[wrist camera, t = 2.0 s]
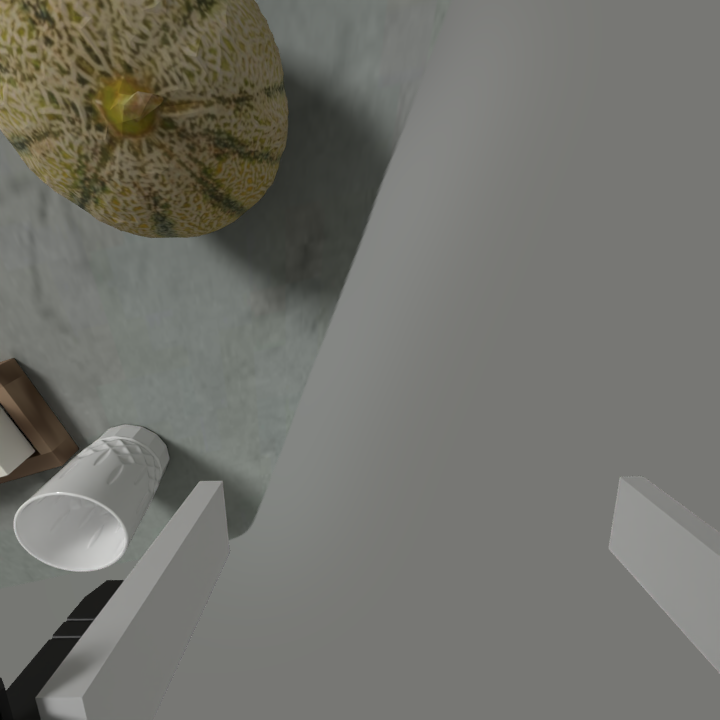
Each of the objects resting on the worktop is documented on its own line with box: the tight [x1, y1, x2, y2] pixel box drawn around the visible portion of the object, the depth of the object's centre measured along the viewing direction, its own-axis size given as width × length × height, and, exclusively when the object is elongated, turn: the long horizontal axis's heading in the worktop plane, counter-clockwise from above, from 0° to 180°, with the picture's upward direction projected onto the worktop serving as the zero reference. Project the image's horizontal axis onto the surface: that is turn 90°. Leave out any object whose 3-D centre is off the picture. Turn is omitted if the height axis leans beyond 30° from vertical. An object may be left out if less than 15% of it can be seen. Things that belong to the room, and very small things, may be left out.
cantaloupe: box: [0, 0, 289, 238], centre depth 21 cm, size 15×15×15 cm
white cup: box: [14, 424, 170, 572], centre depth 33 cm, size 8×8×10 cm
